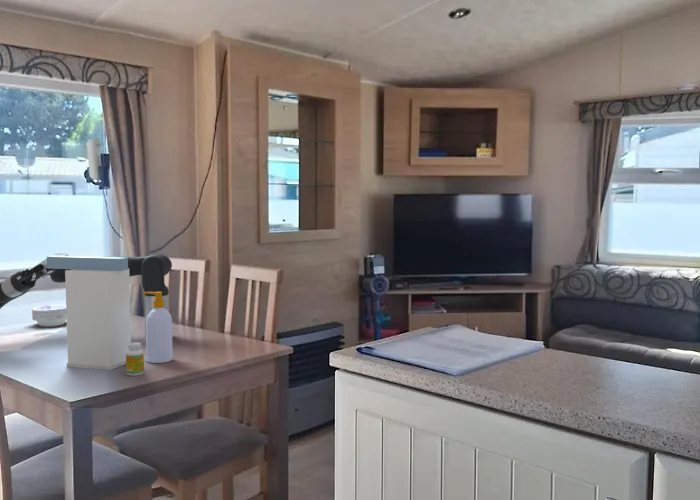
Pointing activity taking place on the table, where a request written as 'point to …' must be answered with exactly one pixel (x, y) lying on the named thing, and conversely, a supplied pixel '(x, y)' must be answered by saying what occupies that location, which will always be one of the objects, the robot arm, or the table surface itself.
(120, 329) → the storage box
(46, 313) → the paper bowls
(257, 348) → the table surface
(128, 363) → the supplement bottle
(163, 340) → the soap bottle
